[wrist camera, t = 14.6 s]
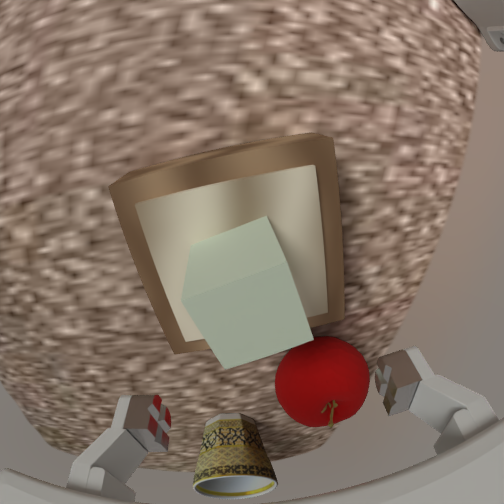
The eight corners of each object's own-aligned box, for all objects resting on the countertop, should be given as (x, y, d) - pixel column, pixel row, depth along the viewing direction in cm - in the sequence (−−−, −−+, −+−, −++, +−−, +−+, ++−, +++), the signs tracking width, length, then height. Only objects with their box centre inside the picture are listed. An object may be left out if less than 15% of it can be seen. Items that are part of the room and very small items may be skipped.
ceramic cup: (188, 406, 33) (186, 476, 24) (269, 403, 34) (282, 471, 25) (199, 449, 39) (201, 504, 30) (264, 447, 40) (272, 501, 31)
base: (311, 132, 21) (335, 138, 16) (327, 288, 27) (346, 322, 23) (128, 172, 21) (106, 188, 16) (179, 319, 27) (173, 357, 23)
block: (266, 215, 18) (286, 261, 13) (290, 280, 20) (313, 339, 15) (190, 245, 19) (180, 300, 13) (222, 305, 21) (225, 369, 15)
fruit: (344, 306, 28) (386, 381, 19) (356, 361, 32) (388, 427, 23) (257, 340, 29) (272, 424, 20) (283, 388, 33) (300, 460, 24)
